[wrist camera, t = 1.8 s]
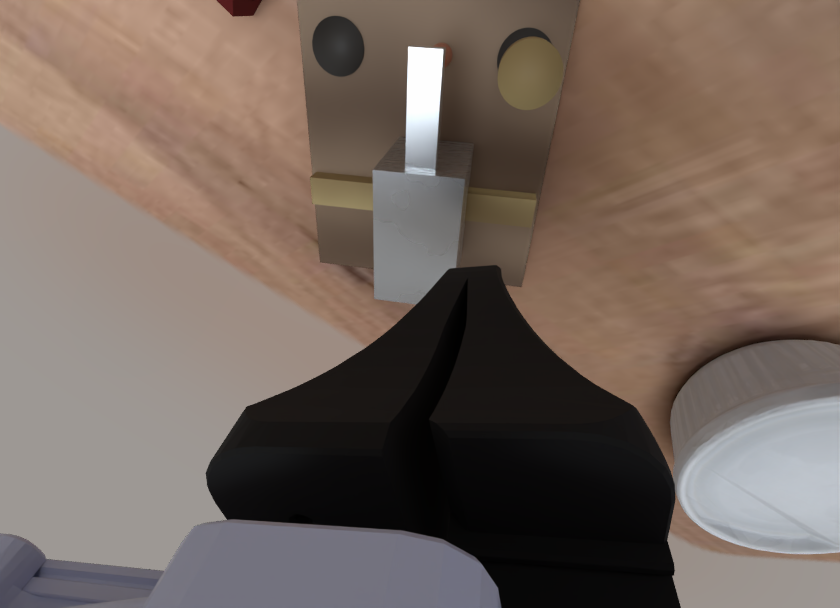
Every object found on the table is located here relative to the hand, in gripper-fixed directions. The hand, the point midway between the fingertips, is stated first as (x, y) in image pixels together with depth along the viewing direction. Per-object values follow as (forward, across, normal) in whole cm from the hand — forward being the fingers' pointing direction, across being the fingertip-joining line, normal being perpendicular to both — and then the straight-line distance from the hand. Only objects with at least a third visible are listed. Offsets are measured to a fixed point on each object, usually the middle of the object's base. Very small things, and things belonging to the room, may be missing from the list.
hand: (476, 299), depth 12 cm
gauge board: (+10, +2, -2) cm, 10 cm away
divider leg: (+9, +2, -1) cm, 9 cm away
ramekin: (+10, -13, +14) cm, 22 cm away
